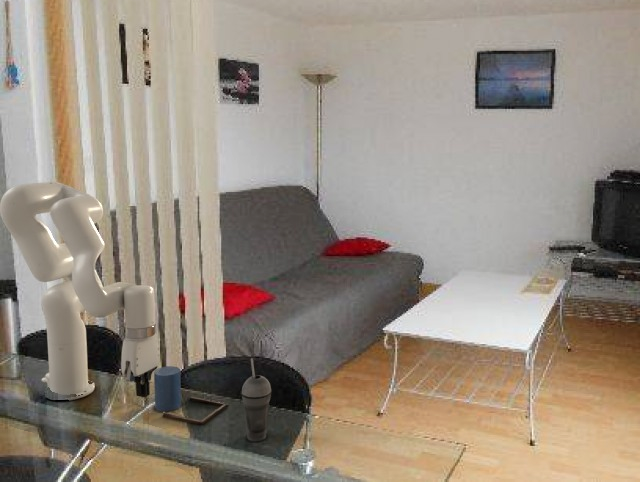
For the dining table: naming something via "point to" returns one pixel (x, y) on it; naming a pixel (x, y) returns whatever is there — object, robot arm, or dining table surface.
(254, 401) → the beverage cup
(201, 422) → the frame
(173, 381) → the can
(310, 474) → the dining table surface
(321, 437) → the dining table surface
